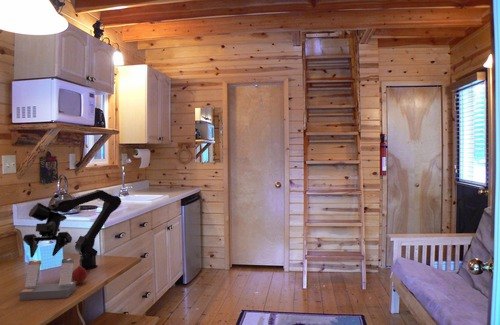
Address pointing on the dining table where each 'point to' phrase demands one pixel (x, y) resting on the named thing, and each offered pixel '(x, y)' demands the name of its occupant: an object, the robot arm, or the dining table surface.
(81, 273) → the onion
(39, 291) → the switch box
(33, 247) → the robot arm
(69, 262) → the grey lever
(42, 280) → the dining table surface
